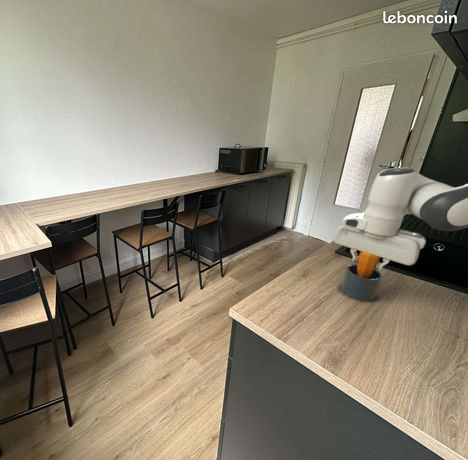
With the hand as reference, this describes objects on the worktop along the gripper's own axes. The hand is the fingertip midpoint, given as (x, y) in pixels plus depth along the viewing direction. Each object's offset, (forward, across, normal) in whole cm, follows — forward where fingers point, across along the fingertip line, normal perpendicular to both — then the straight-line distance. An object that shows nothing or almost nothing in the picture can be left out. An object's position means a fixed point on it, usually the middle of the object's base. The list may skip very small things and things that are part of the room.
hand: (366, 265), depth 79 cm
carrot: (+6, 0, 0) cm, 6 cm away
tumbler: (+10, 0, 0) cm, 10 cm away
